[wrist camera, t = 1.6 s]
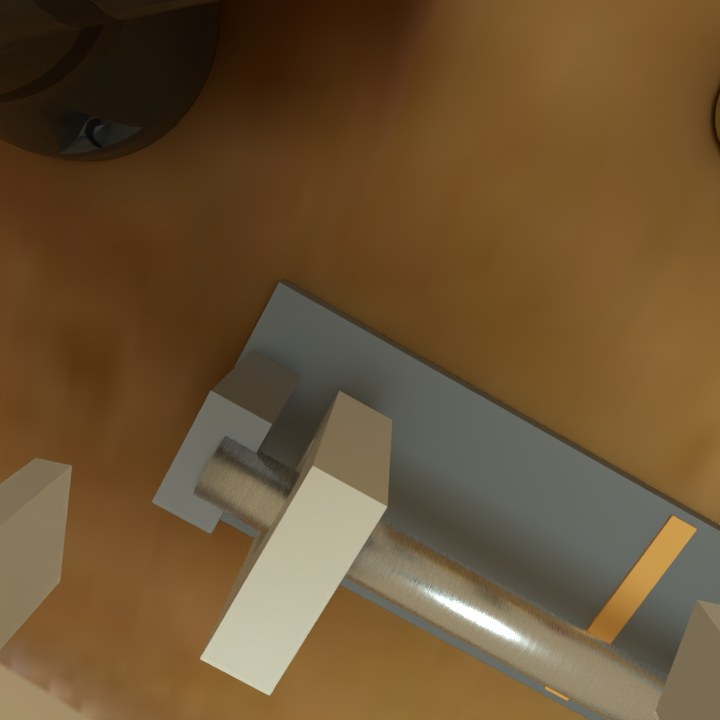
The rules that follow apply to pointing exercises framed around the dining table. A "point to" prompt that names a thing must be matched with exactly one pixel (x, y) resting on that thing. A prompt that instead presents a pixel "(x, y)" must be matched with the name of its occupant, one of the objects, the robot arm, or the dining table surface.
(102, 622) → the dining table surface
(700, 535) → the pipe stand
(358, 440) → the collar
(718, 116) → the wooden log
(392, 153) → the dining table surface
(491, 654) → the pipe
